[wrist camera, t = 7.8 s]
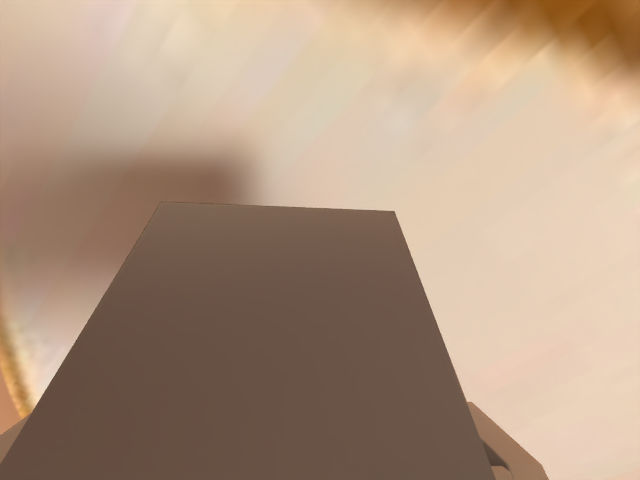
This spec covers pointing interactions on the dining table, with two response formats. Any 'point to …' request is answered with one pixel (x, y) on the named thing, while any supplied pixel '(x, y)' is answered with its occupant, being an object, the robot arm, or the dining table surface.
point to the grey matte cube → (257, 359)
